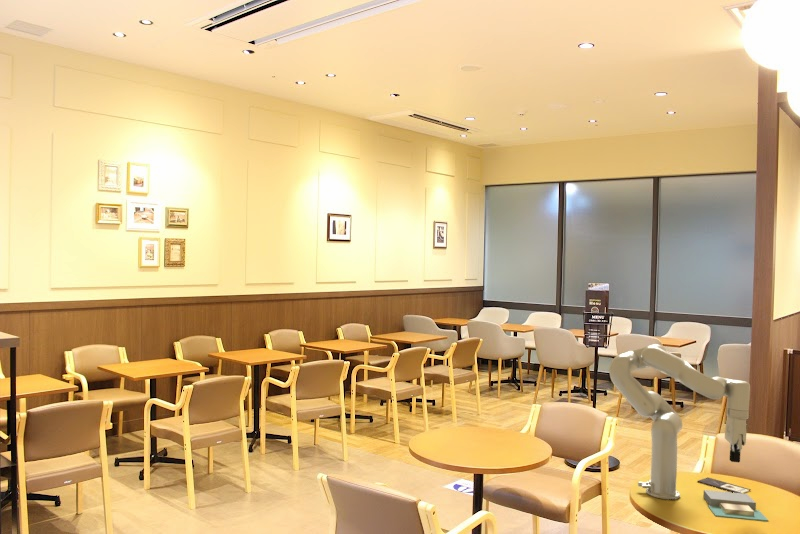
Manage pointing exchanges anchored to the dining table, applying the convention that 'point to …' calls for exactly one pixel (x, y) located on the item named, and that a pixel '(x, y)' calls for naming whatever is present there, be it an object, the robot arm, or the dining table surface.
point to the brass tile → (736, 509)
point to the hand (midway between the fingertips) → (734, 461)
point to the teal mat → (720, 513)
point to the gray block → (728, 498)
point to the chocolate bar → (723, 485)
